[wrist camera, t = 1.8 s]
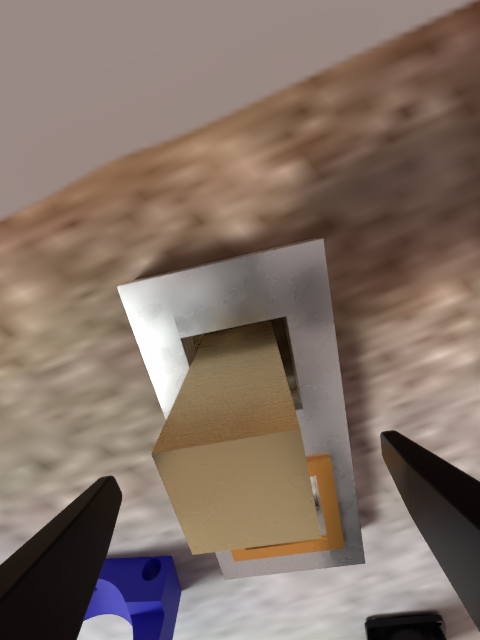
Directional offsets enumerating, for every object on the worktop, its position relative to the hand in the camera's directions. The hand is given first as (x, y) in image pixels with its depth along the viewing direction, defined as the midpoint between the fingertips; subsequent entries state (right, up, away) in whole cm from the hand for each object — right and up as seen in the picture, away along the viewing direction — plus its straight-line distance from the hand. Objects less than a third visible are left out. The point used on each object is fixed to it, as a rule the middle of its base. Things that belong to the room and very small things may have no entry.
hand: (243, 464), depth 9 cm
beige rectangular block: (0, +2, +7) cm, 8 cm away
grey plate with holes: (+1, -2, +9) cm, 9 cm away
